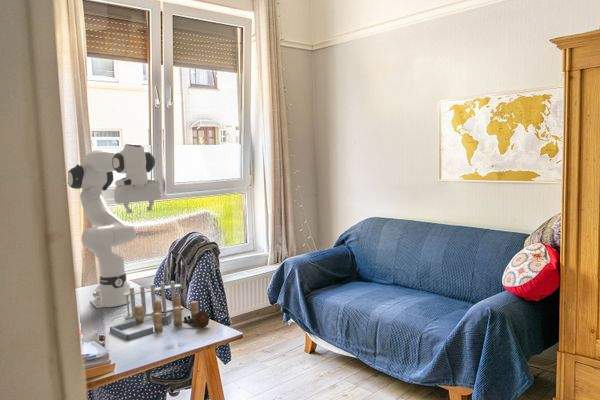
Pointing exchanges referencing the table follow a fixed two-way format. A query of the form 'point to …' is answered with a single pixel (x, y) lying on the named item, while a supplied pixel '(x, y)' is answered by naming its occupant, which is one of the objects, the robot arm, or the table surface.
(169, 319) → the hex nut
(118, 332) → the tray
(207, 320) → the toy
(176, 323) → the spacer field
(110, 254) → the robot arm
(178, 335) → the table surface
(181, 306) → the test tube rack
